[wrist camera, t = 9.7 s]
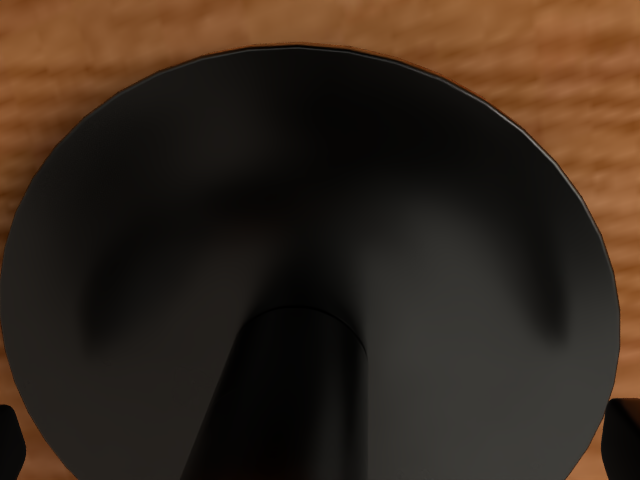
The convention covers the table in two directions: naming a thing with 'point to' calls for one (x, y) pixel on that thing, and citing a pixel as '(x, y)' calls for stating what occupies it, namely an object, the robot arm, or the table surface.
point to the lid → (307, 280)
